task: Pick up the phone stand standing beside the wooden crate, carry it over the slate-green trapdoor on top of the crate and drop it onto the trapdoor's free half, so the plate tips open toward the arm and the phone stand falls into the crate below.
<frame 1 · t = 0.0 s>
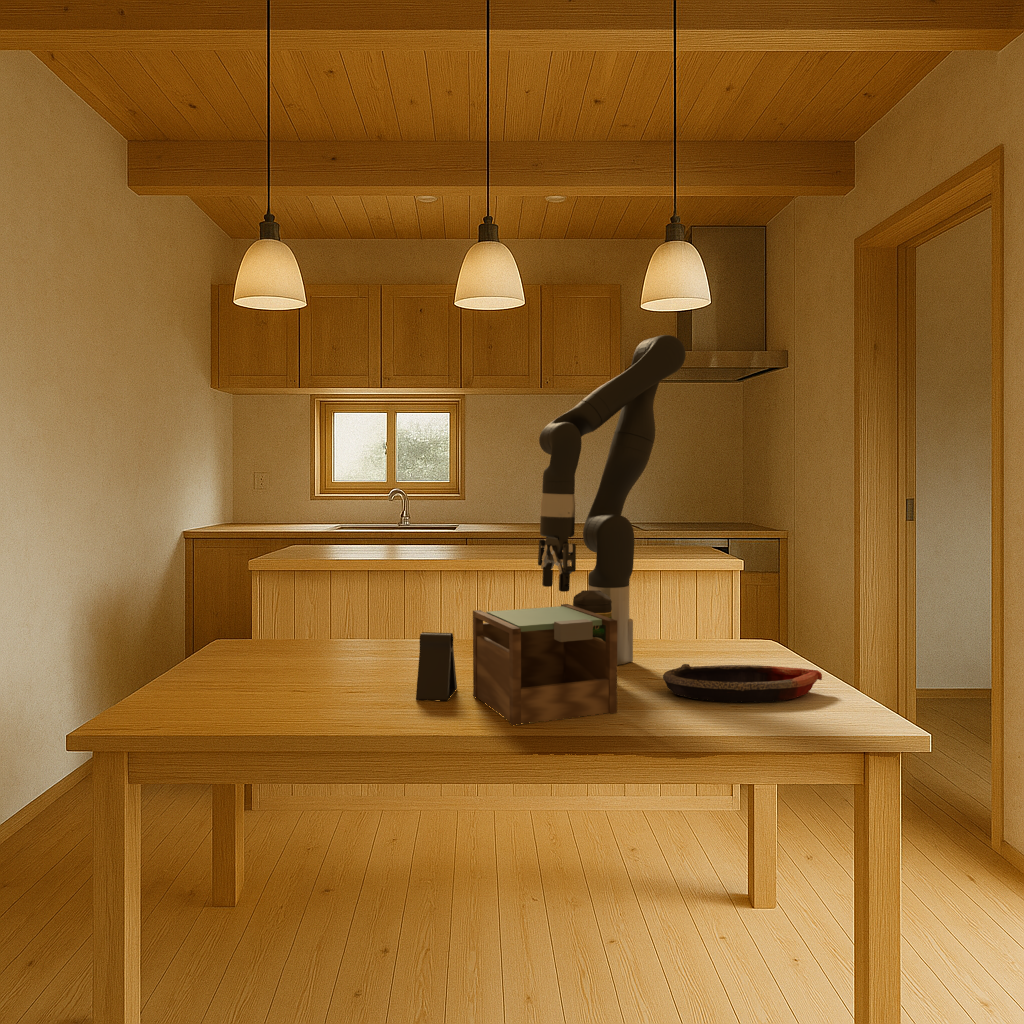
hand: (555, 588, 183), 17 cm above the table, tool pointing down, fingers open, 8 cm apart
wooden crate: (542, 704, 155), on the table
trapdoor: (549, 620, 151), point 16 cm above the table, hinge at 0.0°
coffee jar: (592, 682, 171), on the table
phone stand: (437, 695, 162), on the table
dish: (742, 696, 161), on the table
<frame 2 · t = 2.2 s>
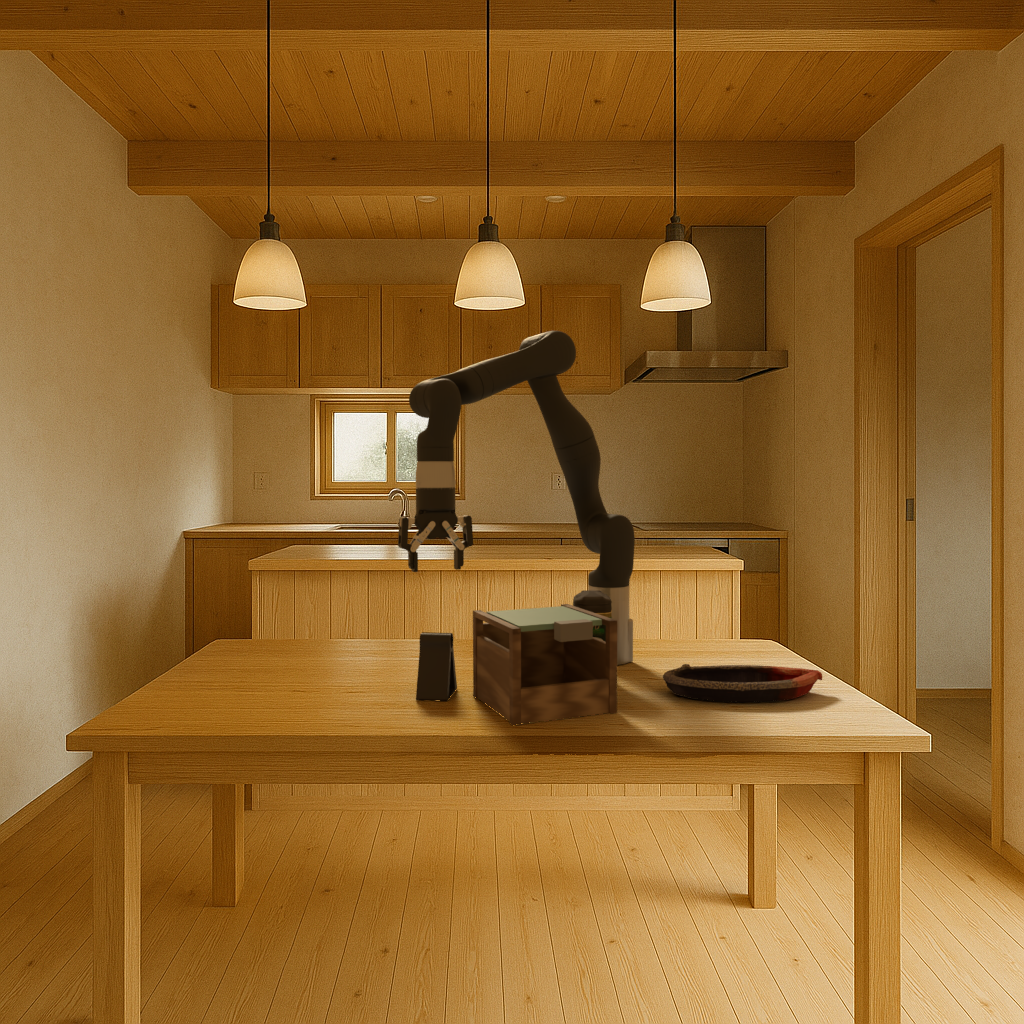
hand: (436, 570, 160), 24 cm above the table, tool pointing down, fingers open, 8 cm apart
nothing on the table moved.
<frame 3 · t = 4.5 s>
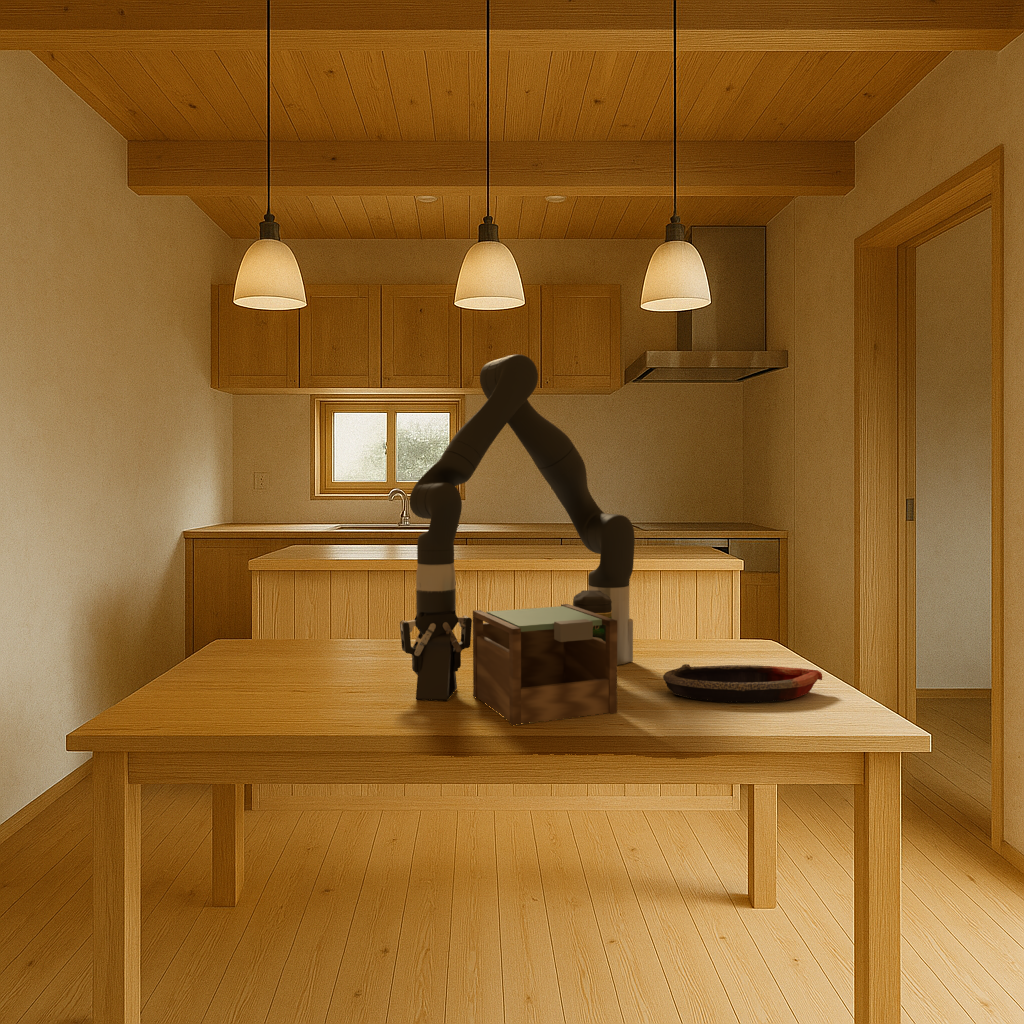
hand: (436, 672, 161), 4 cm above the table, tool pointing down, fingers closed on phone stand, 6 cm apart
phone stand: (436, 695, 162), on the table, touching gripper
everything else where it was.
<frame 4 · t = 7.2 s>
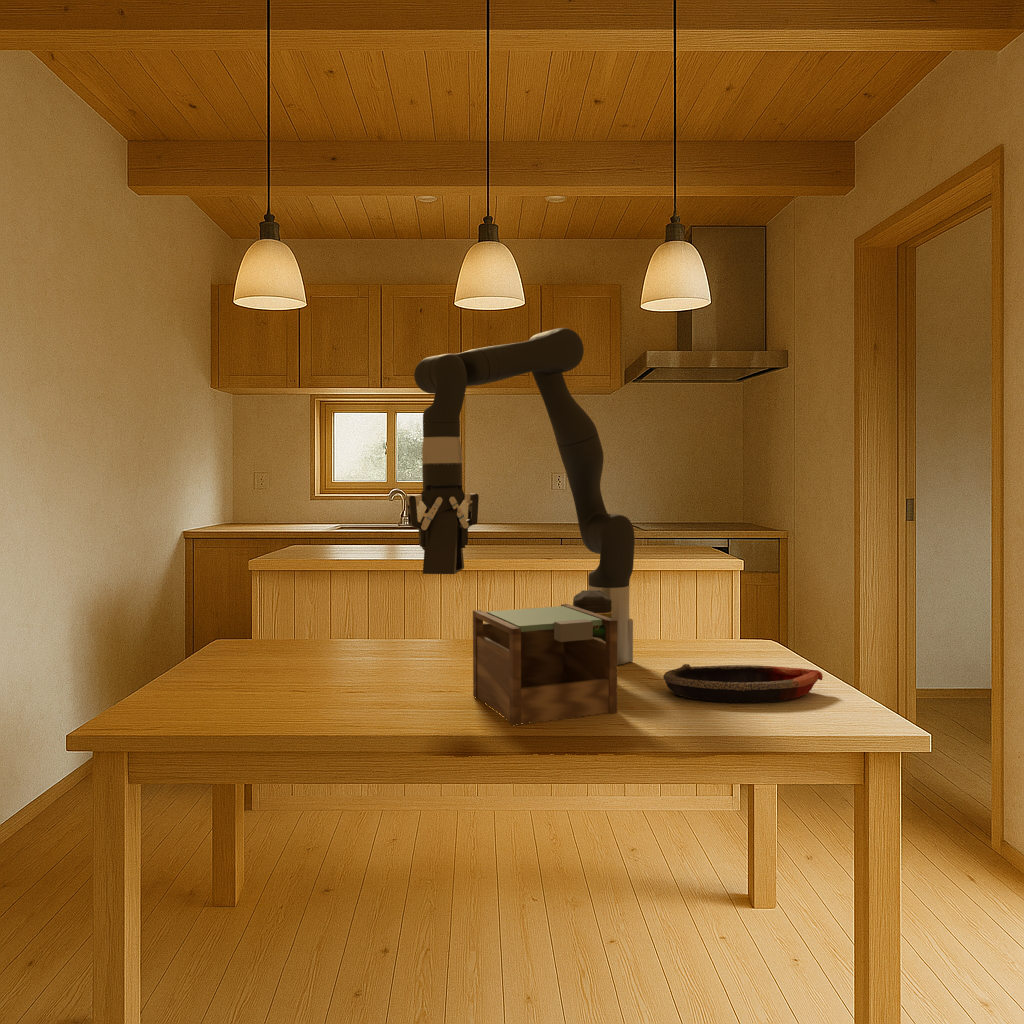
hand: (443, 548, 160), 28 cm above the table, tool pointing down, fingers closed on phone stand, 6 cm apart
phone stand: (444, 572, 160), point 24 cm above the table, touching gripper
everything else where it was.
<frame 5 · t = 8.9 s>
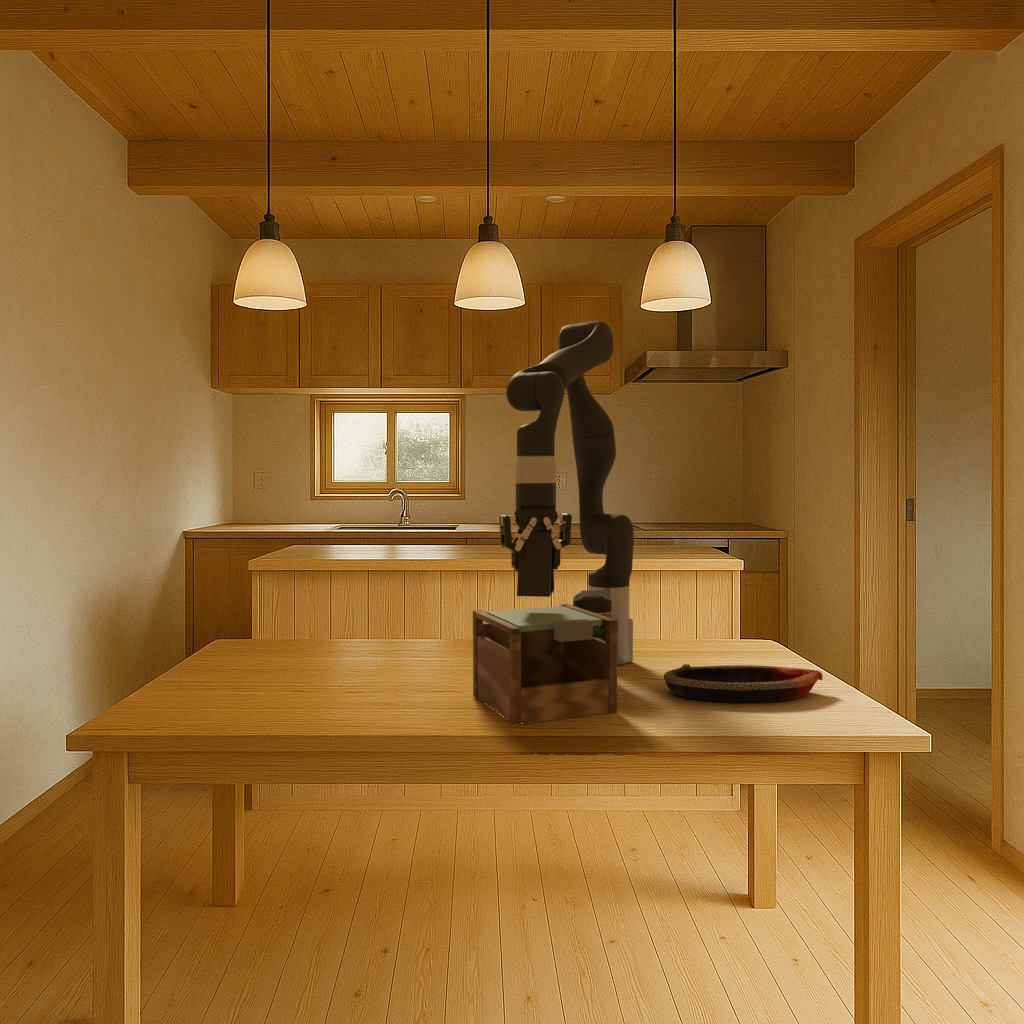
hand: (535, 569, 156), 25 cm above the table, tool pointing down, fingers closed on phone stand, 6 cm apart
phone stand: (536, 594, 156), point 20 cm above the table, touching gripper
everything else where it was.
when the fingers open (24 cm above the table, at t = 10.0 s): phone stand drops 10 cm, resting on trapdoor, wooden crate.
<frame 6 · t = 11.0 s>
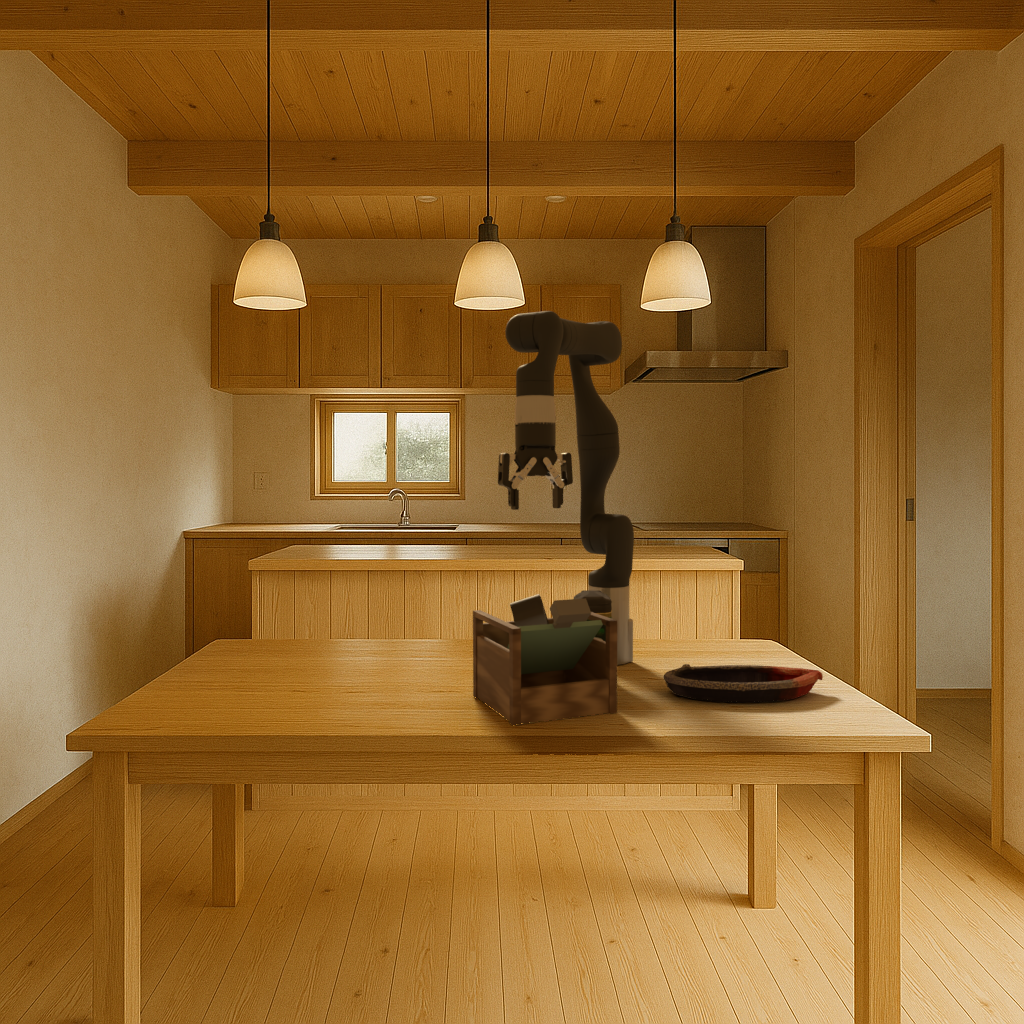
hand: (535, 508, 156), 36 cm above the table, tool pointing down, fingers open, 8 cm apart
trapdoor: (552, 640, 150), point 13 cm above the table, hinge at -41.5°, touching phone stand
phone stand: (541, 655, 155), point 9 cm above the table, touching trapdoor, wooden crate
everything else where it was.
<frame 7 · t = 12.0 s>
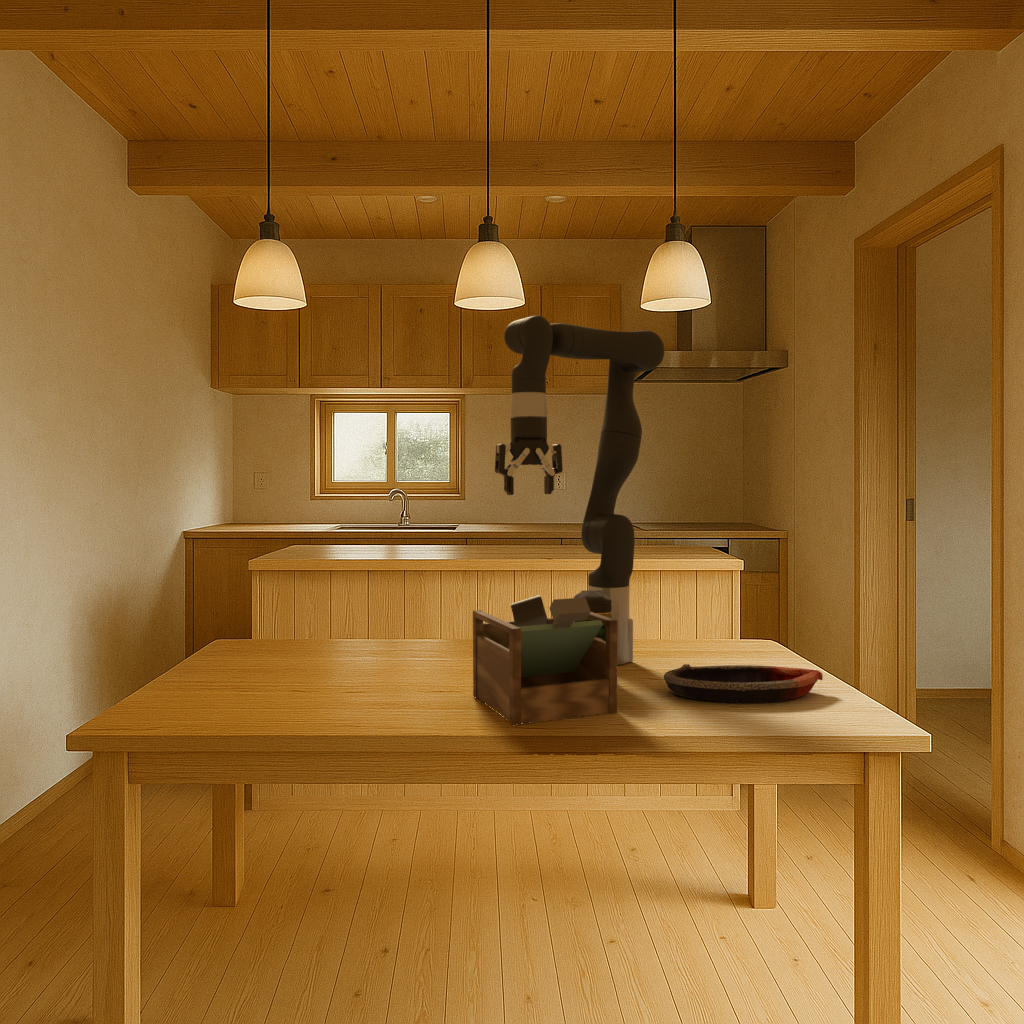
hand: (529, 494, 173), 38 cm above the table, tool pointing down, fingers open, 8 cm apart
trapdoor: (552, 641, 150), point 13 cm above the table, hinge at -43.8°, touching phone stand
everything else where it was.
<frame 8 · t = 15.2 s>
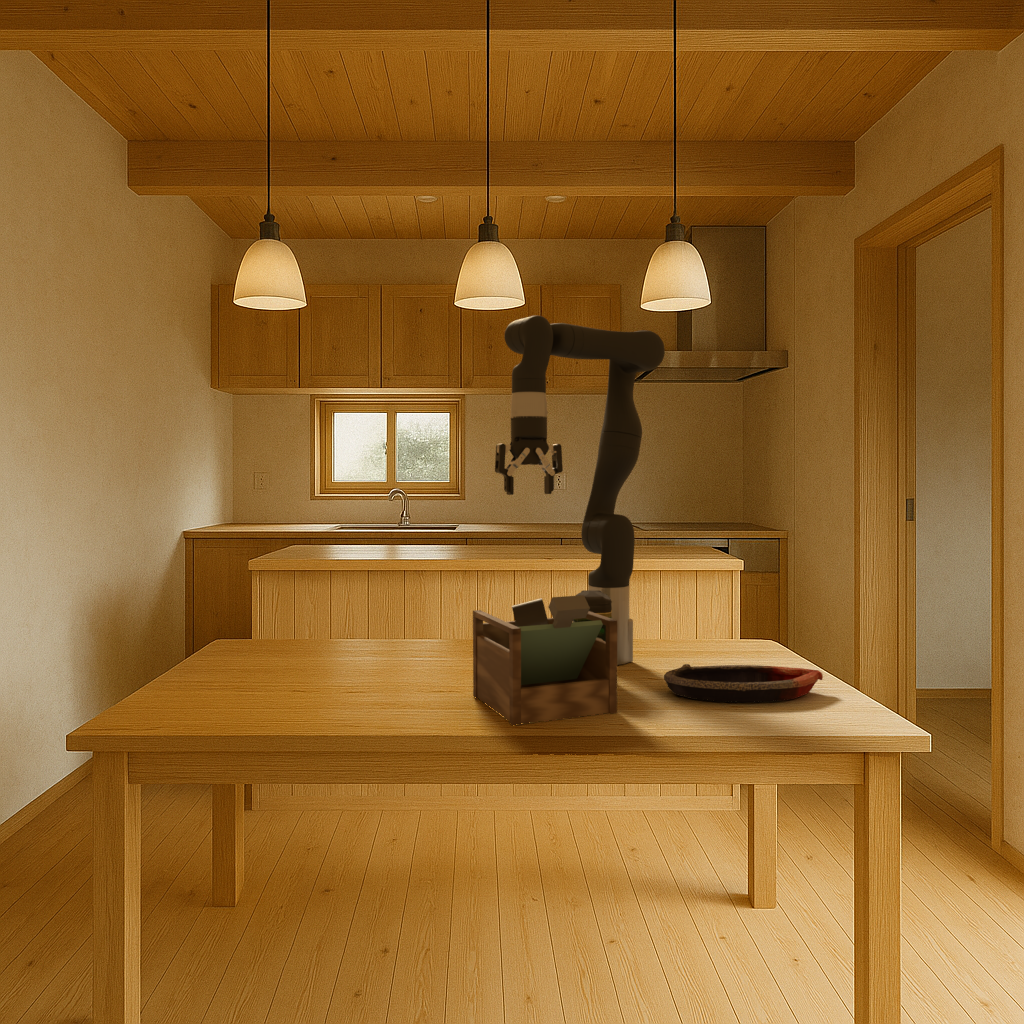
hand: (529, 494, 173), 38 cm above the table, tool pointing down, fingers open, 8 cm apart
trapdoor: (553, 643, 150), point 12 cm above the table, hinge at -49.7°, touching phone stand
everything else where it was.
at the end: phone stand inside the target area on the wooden crate (0.7 cm from its centre), point 7.9 cm above the wooden crate's base; the gripper is holding nothing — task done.
